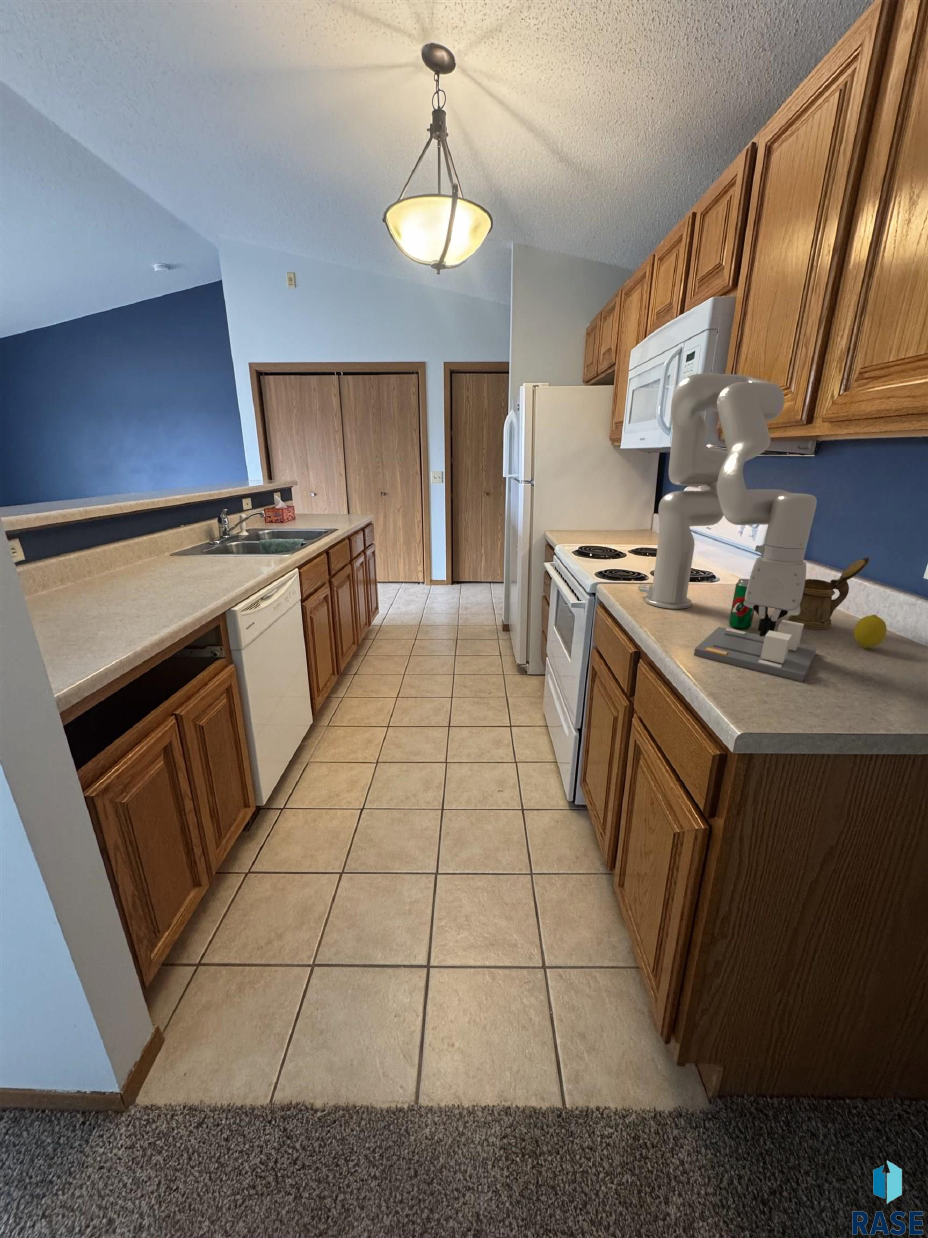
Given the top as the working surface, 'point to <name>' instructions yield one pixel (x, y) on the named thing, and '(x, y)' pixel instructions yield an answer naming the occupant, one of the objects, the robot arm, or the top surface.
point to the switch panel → (754, 653)
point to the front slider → (776, 646)
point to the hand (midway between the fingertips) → (764, 635)
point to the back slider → (791, 632)
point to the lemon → (870, 631)
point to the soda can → (741, 608)
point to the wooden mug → (824, 598)
